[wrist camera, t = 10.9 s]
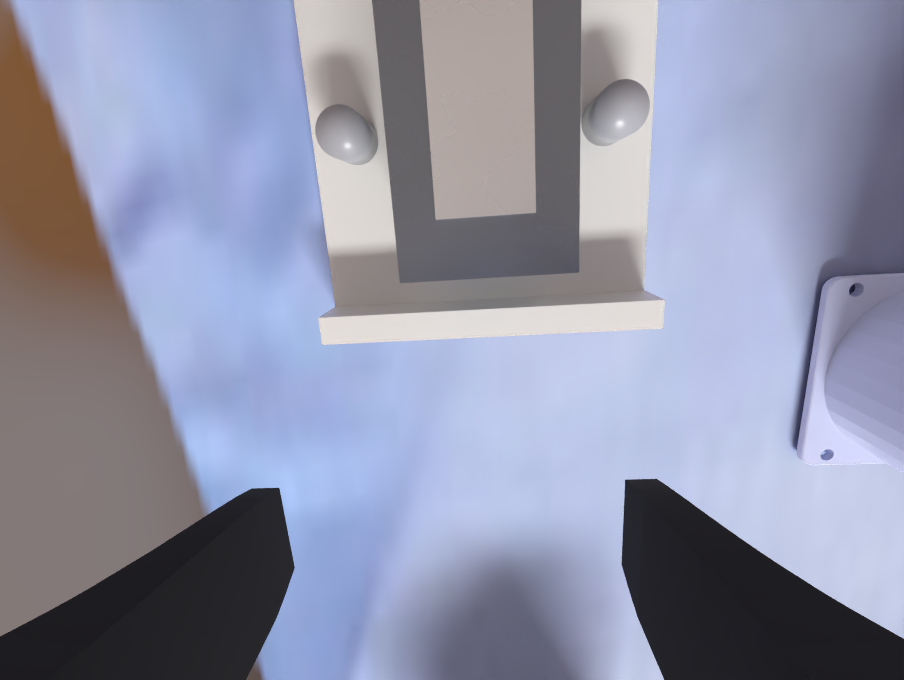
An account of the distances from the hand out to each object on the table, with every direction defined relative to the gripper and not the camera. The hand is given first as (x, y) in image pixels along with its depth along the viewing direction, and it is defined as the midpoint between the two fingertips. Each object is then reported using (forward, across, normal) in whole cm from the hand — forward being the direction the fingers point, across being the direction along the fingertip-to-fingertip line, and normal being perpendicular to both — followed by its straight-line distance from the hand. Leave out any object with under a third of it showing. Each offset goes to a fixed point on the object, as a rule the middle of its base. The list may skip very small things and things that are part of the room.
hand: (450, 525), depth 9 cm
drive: (+9, -1, -9) cm, 13 cm away
